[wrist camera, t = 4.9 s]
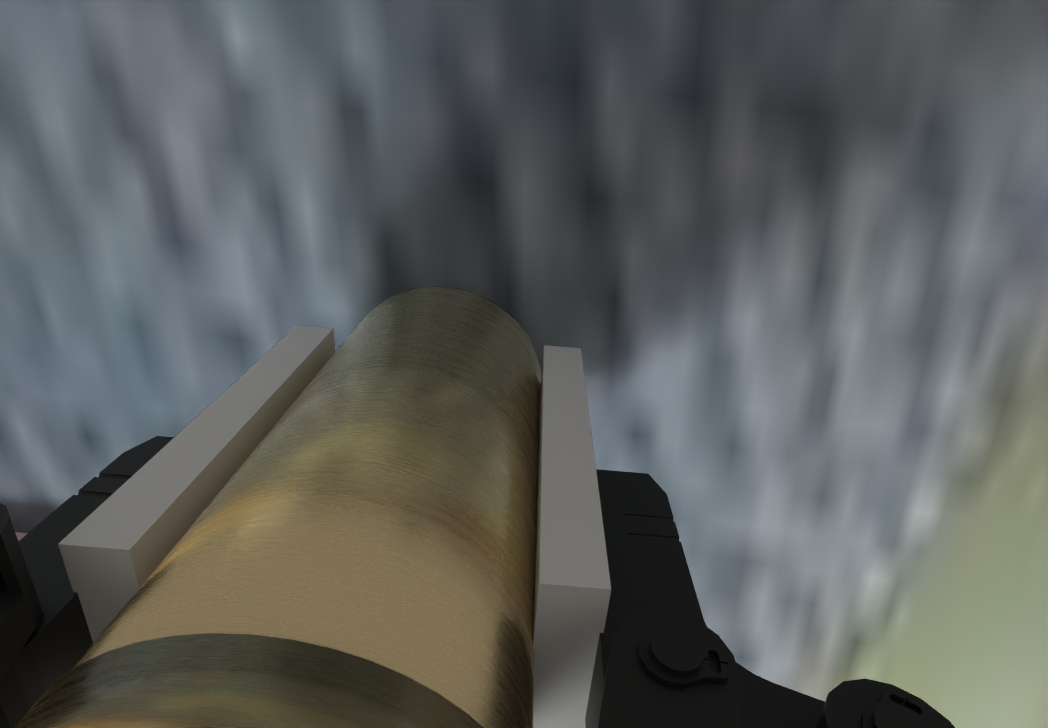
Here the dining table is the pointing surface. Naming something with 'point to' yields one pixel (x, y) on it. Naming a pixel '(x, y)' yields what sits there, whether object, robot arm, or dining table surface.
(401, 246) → the dining table surface
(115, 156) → the dining table surface
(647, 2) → the dining table surface
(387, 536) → the cylinder
